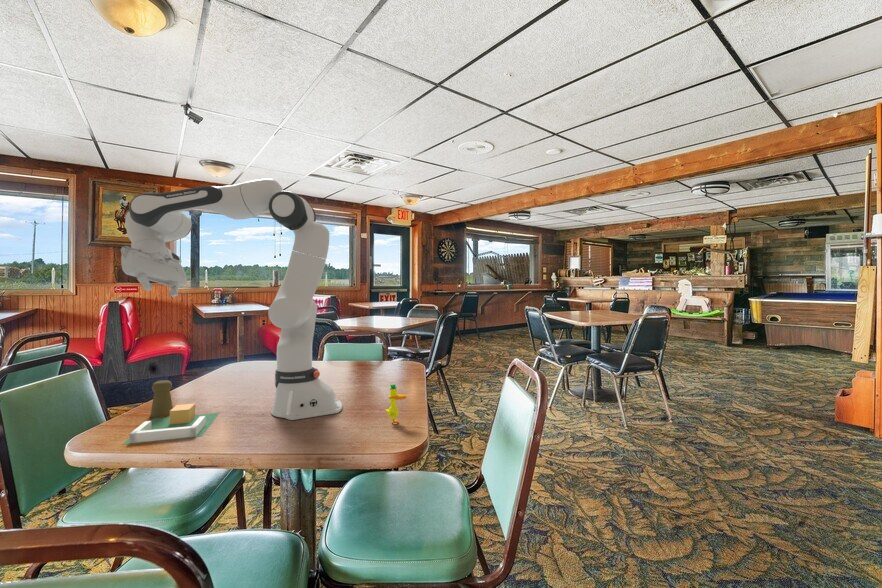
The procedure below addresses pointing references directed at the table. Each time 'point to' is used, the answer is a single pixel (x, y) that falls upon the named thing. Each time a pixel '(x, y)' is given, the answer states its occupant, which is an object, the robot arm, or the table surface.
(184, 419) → the yellow block
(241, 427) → the table surface
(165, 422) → the mat
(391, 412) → the toy figure
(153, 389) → the cork
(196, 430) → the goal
